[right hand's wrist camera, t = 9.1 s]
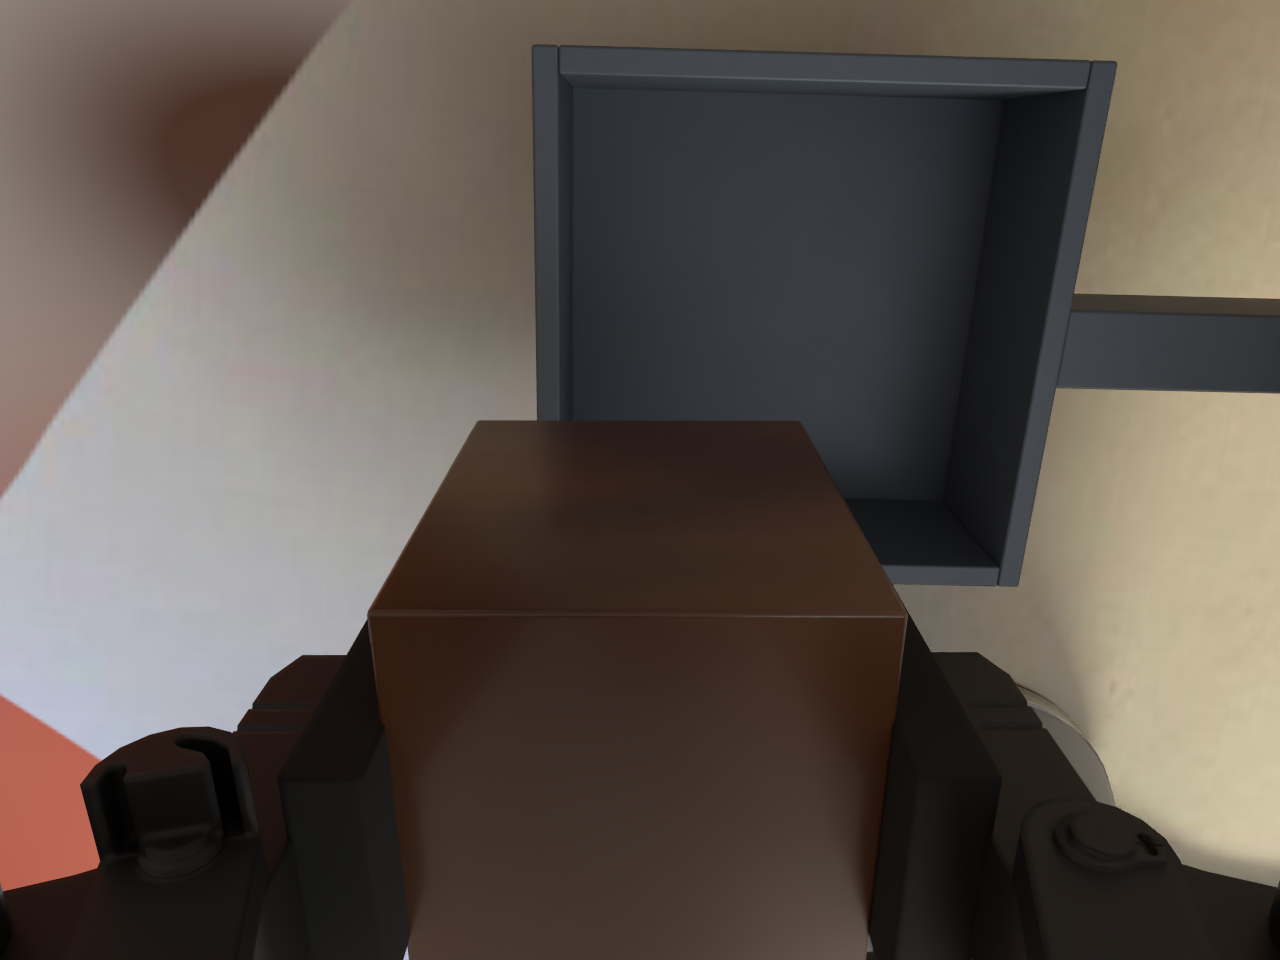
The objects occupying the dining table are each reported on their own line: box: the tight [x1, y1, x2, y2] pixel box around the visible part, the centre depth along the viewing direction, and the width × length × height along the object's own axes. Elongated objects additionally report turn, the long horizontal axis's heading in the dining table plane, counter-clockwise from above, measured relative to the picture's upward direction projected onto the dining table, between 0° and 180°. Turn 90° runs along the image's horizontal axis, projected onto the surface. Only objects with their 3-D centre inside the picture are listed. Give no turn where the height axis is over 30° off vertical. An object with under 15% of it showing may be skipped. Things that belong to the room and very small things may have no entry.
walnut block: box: [367, 420, 908, 960], centre depth 12 cm, size 5×5×6 cm
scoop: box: [532, 44, 1280, 587], centre depth 25 cm, size 27×13×6 cm, turn 89°
